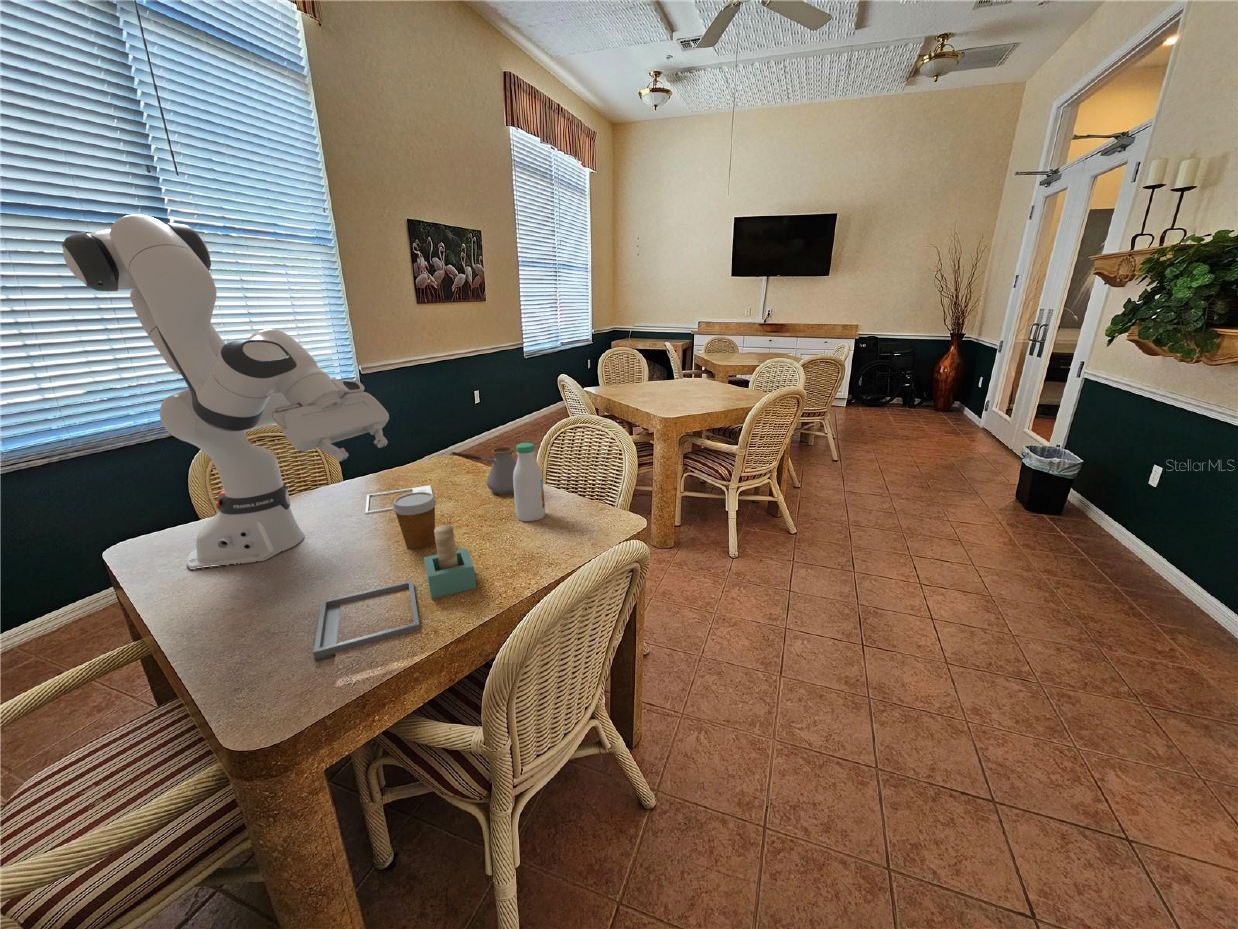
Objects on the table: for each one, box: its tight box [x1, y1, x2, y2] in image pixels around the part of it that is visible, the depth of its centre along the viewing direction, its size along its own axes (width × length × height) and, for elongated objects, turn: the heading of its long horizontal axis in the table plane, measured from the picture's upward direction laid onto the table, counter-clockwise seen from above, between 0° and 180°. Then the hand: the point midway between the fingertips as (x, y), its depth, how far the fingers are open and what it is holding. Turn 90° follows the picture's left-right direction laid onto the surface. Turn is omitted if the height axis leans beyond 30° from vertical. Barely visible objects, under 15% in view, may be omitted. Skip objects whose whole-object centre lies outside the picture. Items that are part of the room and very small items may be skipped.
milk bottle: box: [513, 442, 546, 522], centre depth 129 cm, size 8×8×20 cm
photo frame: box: [364, 484, 434, 515], centre depth 145 cm, size 15×1×18 cm
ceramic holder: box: [423, 548, 477, 600], centre depth 99 cm, size 8×8×6 cm
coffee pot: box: [449, 446, 517, 495], centre depth 146 cm, size 21×12×15 cm, turn 125°
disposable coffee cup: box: [391, 492, 437, 550], centre depth 115 cm, size 10×10×12 cm
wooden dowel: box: [434, 524, 458, 570], centre depth 98 cm, size 4×4×12 cm
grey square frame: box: [312, 579, 421, 662], centre depth 89 cm, size 16×16×2 cm
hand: (364, 451), depth 97 cm, fingers open, 8 cm apart
